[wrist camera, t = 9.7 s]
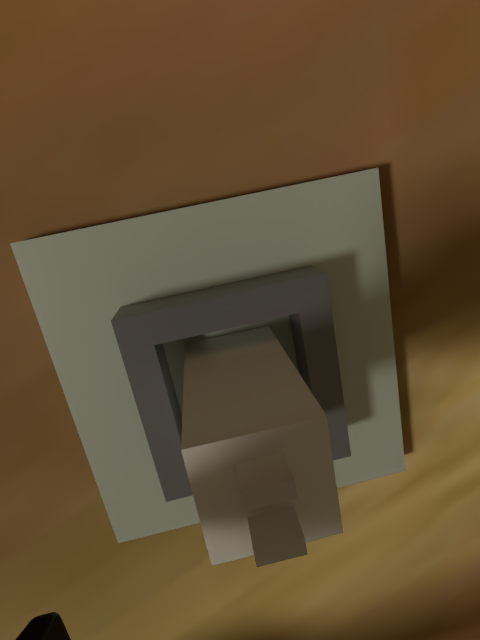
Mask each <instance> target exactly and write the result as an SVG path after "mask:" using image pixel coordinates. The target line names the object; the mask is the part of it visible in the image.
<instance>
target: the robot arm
mask: <svg viewBox="0 0 480 640" xmlns="http://www.w3.org/2000/svg"><path fill="white" fill-rule="evenodd" d="M16 640H71V639H70V637H69V635H68V632H67V630H66V628H65V626H64V623H63V621H62V619H61V617H60V615H59V614H58V613H56V612H52V613H48V614H44V615H40V616H37V617H35V618H33V619H32V620H31V621H30V622H29V623H28V625H27V626H26V627H25V629H24V630H23V631H22V632H21V634H20V635H19V636H18V637H17V639H16Z"/></svg>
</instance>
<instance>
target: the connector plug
mask: <svg viewBox="0 0 480 640" xmlns="http://www.w3.org/2000/svg"><path fill="white" fill-rule="evenodd" d="M181 452H182V456H183V459H184V463H185V467H186V471H187V475H188V478H189V482H190V486H191V490H192V493H193V497H194V501H195V505H196V508H197V512H198V516H199V520H200V523H201V527H202V531H203V535H204V538H205V542H206V546H207V550H208V553H209V557H210V561H211V565H216V564H220V563H224V562H228V561H232V560H236V559H240V558H244V557H248V556H252V555H254V556H255V561H256V565H257V567H259V566H263V565H267V564H271V563H275V562H279V561H283V560H287V559H291V558H295V557H299V556H303V555H307V549H306V543H305V542H308V541H312V540H316V539H320V538H324V537H328V536H332V535H336V534H340V533H343V529H342V522H341V515H340V507H339V500H338V493H337V486H336V479H335V471H334V464H333V457H332V450H331V442H330V435H329V428H328V421H327V416H326V414H325V413H324V411H323V409H322V408H321V406H320V405H319V403H318V402H317V400H316V399H315V397H314V396H313V394H312V392H311V391H310V389H309V388H308V386H307V385H306V383H305V382H304V380H303V378H302V377H301V375H300V374H299V372H298V371H297V369H296V368H295V366H294V365H293V363H292V361H291V360H290V358H289V357H288V355H287V354H286V352H285V351H284V349H283V347H282V346H281V344H280V343H279V341H278V340H277V338H276V337H275V335H274V334H273V332H272V330H271V329H270V327H269V326H264V327H260V328H255V329H250V330H246V331H241V332H236V333H232V334H227V335H222V336H218V337H213V338H209V339H204V340H199V341H195V342H190V343H185V355H184V382H183V409H182V436H181Z"/></svg>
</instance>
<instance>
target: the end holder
mask: <svg viewBox="0 0 480 640" xmlns="http://www.w3.org/2000/svg"><path fill="white" fill-rule="evenodd" d="M10 244H11V247H12V250H13V253H14V256H15V258H16V261H17V264H18V267H19V269H20V272H21V275H22V278H23V280H24V283H25V286H26V289H27V292H28V294H29V297H30V300H31V303H32V305H33V308H34V311H35V314H36V317H37V319H38V322H39V325H40V328H41V330H42V333H43V336H44V339H45V342H46V344H47V347H48V350H49V353H50V355H51V358H52V361H53V364H54V366H55V369H56V372H57V375H58V378H59V380H60V383H61V386H62V389H63V391H64V394H65V397H66V400H67V403H68V405H69V408H70V411H71V414H72V416H73V419H74V422H75V425H76V427H77V430H78V433H79V436H80V439H81V441H82V444H83V447H84V450H85V452H86V455H87V458H88V461H89V464H90V466H91V469H92V472H93V475H94V477H95V480H96V483H97V486H98V488H99V491H100V494H101V497H102V500H103V502H104V505H105V508H106V511H107V513H108V516H109V519H110V522H111V525H112V527H113V530H114V533H115V536H116V538H117V541H118V543H121V542H125V541H129V540H133V539H137V538H141V537H145V536H149V535H153V534H157V533H161V532H165V531H169V530H173V529H177V528H181V527H185V526H189V525H192V524H196V523H200V520H199V516H198V512H197V508H196V505H195V501H194V497H193V493H192V490H191V486H190V482H189V478H188V475H187V471H186V467H185V463H184V459H183V456H182V452H181V436H182V409H183V382H184V355H185V343H190V342H195V341H199V340H204V339H209V338H213V337H218V336H222V335H227V334H232V333H236V332H241V331H246V330H250V329H255V328H260V327H264V326H269V327H270V329H271V330H272V332H273V334H274V335H275V337H276V338H277V340H278V341H279V343H280V344H281V346H282V347H283V349H284V351H285V352H286V354H287V355H288V357H289V358H290V360H291V361H292V363H293V365H294V366H295V368H296V369H297V371H298V372H299V374H300V375H301V377H302V378H303V380H304V382H305V383H306V385H307V386H308V388H309V389H310V391H311V392H312V394H313V396H314V397H315V399H316V400H317V402H318V403H319V405H320V406H321V408H322V409H323V411H324V413H325V414H326V416H327V421H328V428H329V435H330V442H331V450H332V457H333V464H334V471H335V479H336V486H337V488H339V487H343V486H347V485H351V484H355V483H359V482H363V481H367V480H371V479H375V478H379V477H383V476H387V475H391V474H395V473H399V472H403V471H405V460H404V448H403V437H402V426H401V415H400V404H399V393H398V381H397V370H396V359H395V348H394V337H393V325H392V314H391V303H390V292H389V281H388V269H387V258H386V247H385V236H384V225H383V214H382V202H381V191H380V180H379V169H378V168H374V169H369V170H364V171H359V172H354V173H349V174H344V175H340V176H335V177H330V178H325V179H320V180H315V181H310V182H306V183H301V184H296V185H291V186H286V187H281V188H276V189H272V190H267V191H262V192H257V193H252V194H247V195H242V196H238V197H233V198H228V199H223V200H218V201H213V202H208V203H204V204H199V205H194V206H189V207H184V208H179V209H174V210H170V211H165V212H160V213H155V214H150V215H145V216H141V217H136V218H131V219H126V220H121V221H116V222H111V223H107V224H102V225H97V226H92V227H87V228H82V229H77V230H73V231H68V232H63V233H58V234H53V235H48V236H43V237H39V238H34V239H29V240H24V241H19V242H15V243H10Z"/></svg>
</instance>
